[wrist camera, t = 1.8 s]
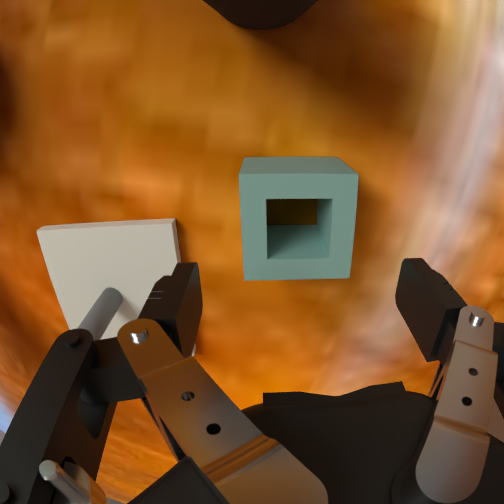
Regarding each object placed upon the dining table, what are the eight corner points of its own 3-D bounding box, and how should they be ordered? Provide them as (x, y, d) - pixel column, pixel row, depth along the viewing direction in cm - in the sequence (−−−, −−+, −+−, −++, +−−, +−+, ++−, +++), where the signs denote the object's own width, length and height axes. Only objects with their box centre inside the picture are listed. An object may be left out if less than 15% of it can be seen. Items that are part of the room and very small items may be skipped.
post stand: (175, 218, 22) (128, 288, 14) (196, 348, 27) (176, 432, 19) (42, 226, 23) (-26, 280, 15) (81, 339, 28) (41, 406, 20)
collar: (337, 157, 20) (358, 174, 15) (333, 241, 23) (349, 278, 18) (244, 157, 20) (238, 174, 16) (248, 243, 23) (244, 280, 18)
